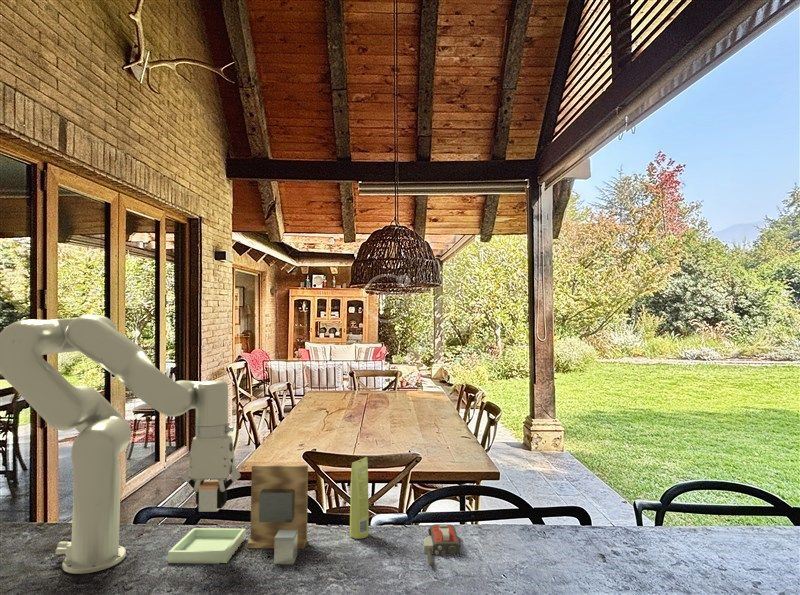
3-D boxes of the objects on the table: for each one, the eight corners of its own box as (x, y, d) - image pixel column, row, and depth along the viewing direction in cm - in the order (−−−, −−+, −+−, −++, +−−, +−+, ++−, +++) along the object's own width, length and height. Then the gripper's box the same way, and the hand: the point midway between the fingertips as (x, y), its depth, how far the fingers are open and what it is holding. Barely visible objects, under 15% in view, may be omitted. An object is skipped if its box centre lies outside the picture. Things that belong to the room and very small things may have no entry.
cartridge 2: (274, 564, 116) (274, 537, 116) (278, 555, 120) (279, 529, 120) (293, 564, 116) (293, 537, 116) (297, 555, 120) (297, 529, 120)
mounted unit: (246, 549, 123) (248, 469, 124) (252, 540, 128) (254, 463, 129) (303, 549, 123) (304, 469, 124) (307, 541, 128) (308, 464, 129)
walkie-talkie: (421, 534, 133) (426, 571, 113) (421, 517, 133) (426, 551, 113) (454, 534, 133) (465, 571, 113) (454, 517, 133) (465, 551, 113)
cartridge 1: (198, 511, 121) (198, 486, 121) (206, 504, 126) (206, 480, 126) (216, 511, 121) (217, 486, 121) (223, 504, 125) (223, 480, 126)
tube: (348, 531, 134) (348, 457, 135) (366, 530, 135) (367, 456, 136) (351, 540, 128) (351, 462, 129) (370, 538, 129) (371, 461, 131)
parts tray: (167, 562, 116) (168, 551, 116) (193, 538, 130) (193, 528, 130) (226, 563, 116) (226, 552, 116) (245, 538, 129) (245, 528, 129)
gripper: (250, 427, 128) (250, 501, 127) (184, 428, 128) (184, 501, 127) (240, 434, 120) (240, 512, 119) (170, 435, 121) (170, 512, 120)
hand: (211, 505), depth 123 cm, fingers closed on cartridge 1, 4 cm apart
